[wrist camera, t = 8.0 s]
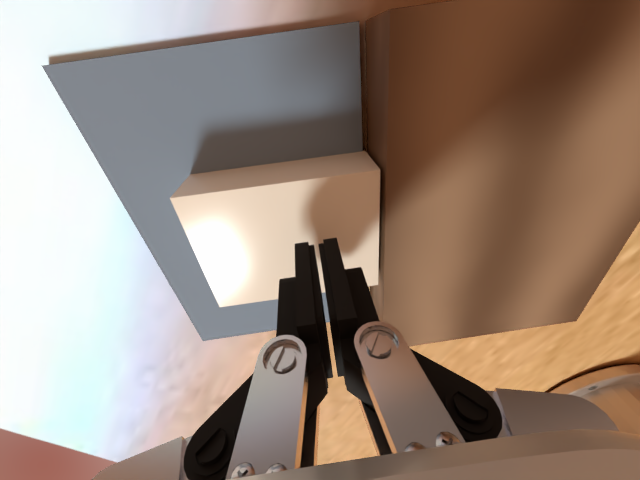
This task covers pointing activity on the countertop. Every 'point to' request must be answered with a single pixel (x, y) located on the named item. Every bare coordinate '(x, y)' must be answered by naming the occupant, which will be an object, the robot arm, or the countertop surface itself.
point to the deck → (501, 160)
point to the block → (279, 221)
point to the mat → (213, 133)
